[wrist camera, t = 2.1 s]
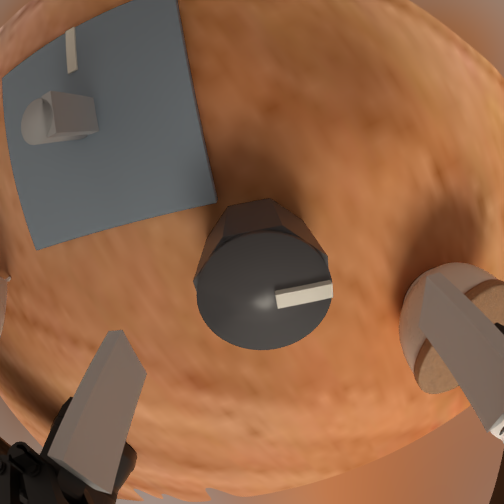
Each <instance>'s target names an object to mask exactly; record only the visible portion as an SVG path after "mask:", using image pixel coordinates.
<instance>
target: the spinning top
mask: <svg viewBox="0 0 504 504" xmlns="http://www.w3.org/2000/svg"><path fill="white" fill-rule="evenodd" d="M10 280H11V277H10V276H9V277H8V278H7V279H4V278H1V277H0V337H1V333H2V329H3V324H4V320H5V311H6V302H7V282H9V281H10Z"/></svg>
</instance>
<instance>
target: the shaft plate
mask: <svg viewBox="0 0 504 504" xmlns="http://www.w3.org/2000/svg"><path fill="white" fill-rule="evenodd" d="M2 89H3V107H4V119H5V128H6V135H7V142H8V149H9V154H10V160H11V165H12V170H13V174H14V179H15V183H16V187H17V191H18V195H19V199H20V202H21V206H22V209H23V213H24V216H25V219H26V222H27V226H28V229H29V232H30V234H31V237H32V240H33V243H34V246H35V248H36V251H37V250H40V249H43V248H46V247H49V246H52V245H55V244H59V243H62V242H65V241H68V240H72V239H75V238H78V237H82V236H85V235H89V234H92V233H96V232H99V231H103V230H106V229H110V228H114V227H117V226H121V225H125V224H129V223H133V222H136V221H140V220H144V219H148V218H152V217H156V216H160V215H165V214H169V213H173V212H177V211H182V210H186V209H190V208H195V207H199V206H204V205H209V204H213V203H217V200H218V199H217V194H216V190H215V185H214V181H213V176H212V172H211V167H210V163H209V158H208V154H207V149H206V144H205V140H204V135H203V130H202V125H201V121H200V116H199V111H198V106H197V101H196V96H195V91H194V86H193V81H192V76H191V71H190V66H189V61H188V56H187V50H186V45H185V40H184V34H183V29H182V23H181V18H180V12H179V7H178V1H177V0H133V1H130V2H128V3H125V4H123V5H120V6H118V7H116V8H113V9H111V10H109V11H107V12H104V13H102V14H100V15H98V16H96V17H94V18H92V19H90V20H88V21H86V22H84V23H82V24H80V25H79V26H77V27H72V28H71V29H69V30H67V31H66V32H65V34H63V35H61V36H60V37H58V38H56V39H55V40H53V41H52V42H50V43H48V44H47V45H45V46H44V47H42V48H41V49H40V50H38V51H37V52H35V53H34V54H32V55H31V56H30V57H28V58H27V59H26V60H24V61H23V62H22V63H20V64H19V65H18V66H16V67H15V68H14V69H13V70H11V71H10V72H9V73H8V74H7V75H5V76H4V77H3V78H2Z"/></svg>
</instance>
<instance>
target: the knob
mask: <svg viewBox="0 0 504 504" xmlns="http://www.w3.org/2000/svg"><path fill="white" fill-rule="evenodd" d="M193 282H194V285H195V288H196V291H197V304H198V308H199V311H200V313H201V316H202V318H203V320H204V321H205V323H206V324H207V325H208V327H209V328H210V329H211V330H212V331H213V332H214V333H215V334H216V335H217V336H219V337H220V338H222V339H223V340H225V341H227V342H229V343H231V344H233V345H236V346H239V347H242V348H247V349H253V350H270V349H277V348H281V347H285V346H288V345H290V344H293V343H295V342H297V341H299V340H301V339H302V338H304V337H305V336H307V335H308V334H309V333H311V332H312V331H313V330H314V329H315V328H316V327H317V326H318V325H319V324H320V322H321V321H322V320H323V318H324V317H325V315H326V313H327V311H328V309H329V306H330V303H331V299H332V298H333V285H332V279H331V275H330V272H329V269H328V256H327V255H326V253H325V252H324V250H323V249H322V247H321V246H320V244H319V243H318V242H317V240H316V239H315V237H314V236H313V234H312V233H311V231H310V230H309V229H308V227H307V226H306V224H305V223H304V222H303V221H302V220H301V219H300V218H298V217H297V216H295V215H294V214H292V213H291V212H290V211H288V210H287V209H285V208H284V207H282V206H281V205H279V204H278V203H276V202H275V201H273V200H272V199H270V198H268V199H263V200H258V201H252V202H247V203H242V204H237V205H232V206H228V207H227V209H226V210H225V212H224V213H223V215H222V216H221V218H220V219H219V221H218V223H217V224H216V226H215V227H214V229H213V230H212V232H211V233H210V235H209V236H208V238H207V239H206V242H205V245H204V249H203V252H202V255H201V258H200V261H199V264H198V267H197V271H196V274H195V277H194V280H193Z"/></svg>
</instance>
